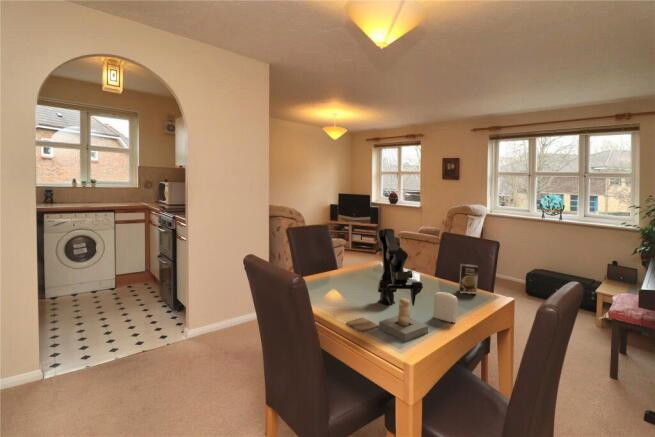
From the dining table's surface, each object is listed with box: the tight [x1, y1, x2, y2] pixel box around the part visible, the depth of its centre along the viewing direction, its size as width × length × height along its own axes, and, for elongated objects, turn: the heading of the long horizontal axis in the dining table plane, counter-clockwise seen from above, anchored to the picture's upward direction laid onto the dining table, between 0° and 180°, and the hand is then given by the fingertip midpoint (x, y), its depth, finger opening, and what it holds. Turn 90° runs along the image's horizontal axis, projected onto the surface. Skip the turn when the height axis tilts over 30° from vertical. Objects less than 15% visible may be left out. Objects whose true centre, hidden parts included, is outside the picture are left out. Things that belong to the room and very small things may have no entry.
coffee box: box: [458, 263, 479, 293], centre depth 193 cm, size 9×6×16 cm
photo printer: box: [433, 291, 458, 323], centre depth 152 cm, size 10×4×12 cm, turn 47°
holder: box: [378, 315, 429, 342], centre depth 139 cm, size 14×14×3 cm
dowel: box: [397, 297, 411, 327], centre depth 138 cm, size 4×4×13 cm
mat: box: [345, 317, 379, 333], centre depth 143 cm, size 10×10×1 cm
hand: (402, 305), depth 141 cm, fingers open, 9 cm apart
